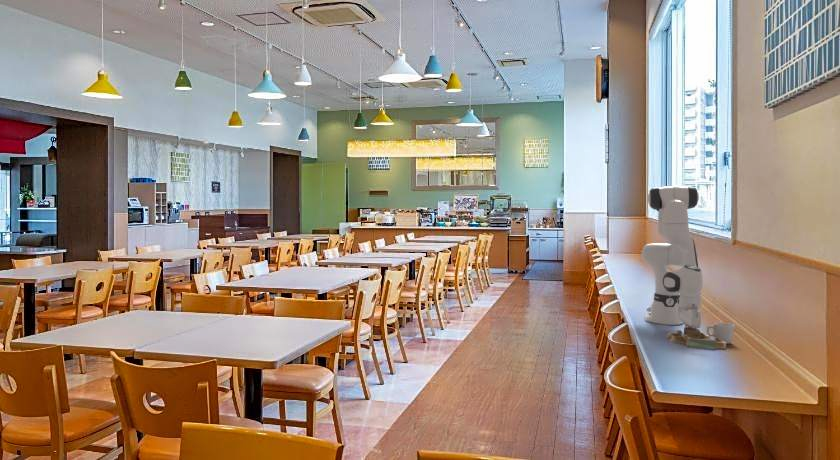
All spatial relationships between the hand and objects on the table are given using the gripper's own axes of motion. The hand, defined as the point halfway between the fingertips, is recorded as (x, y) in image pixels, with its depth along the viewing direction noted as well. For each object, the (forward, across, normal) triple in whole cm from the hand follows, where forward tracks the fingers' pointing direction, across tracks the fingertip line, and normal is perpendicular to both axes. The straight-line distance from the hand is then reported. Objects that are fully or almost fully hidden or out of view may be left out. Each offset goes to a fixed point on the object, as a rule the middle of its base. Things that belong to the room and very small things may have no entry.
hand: (688, 334), depth 283 cm
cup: (+2, -6, -11) cm, 13 cm away
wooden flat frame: (+2, -11, 0) cm, 11 cm away
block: (+2, -5, 0) cm, 5 cm away
